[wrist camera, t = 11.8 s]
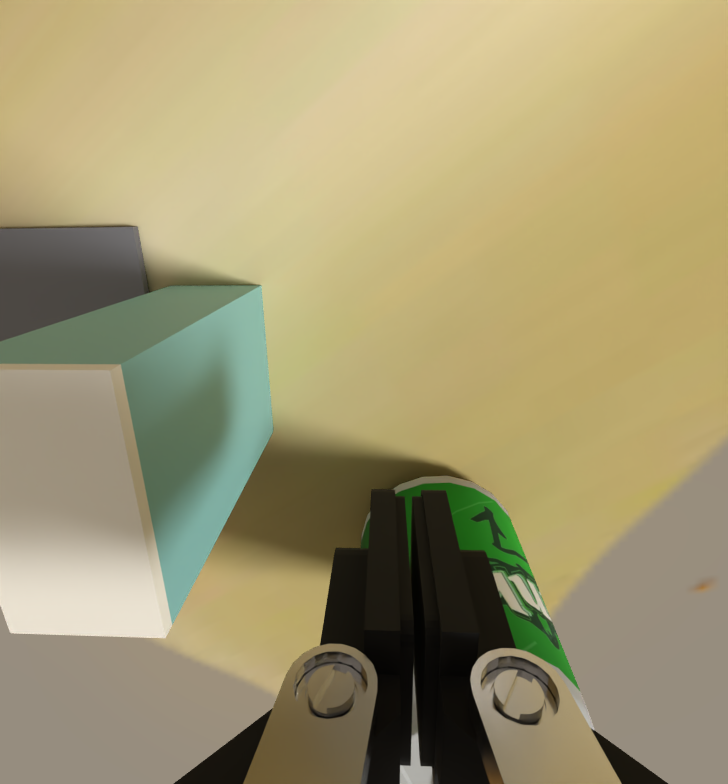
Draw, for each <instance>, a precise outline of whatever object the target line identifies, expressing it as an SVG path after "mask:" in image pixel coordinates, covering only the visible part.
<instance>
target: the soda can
mask: <svg viewBox="0 0 728 784" xmlns="http://www.w3.org/2000/svg"><path fill="white" fill-rule="evenodd" d="M392 490H395V496H405V507H406V521H407V534H408V548H409V562H410V555H411V512H412V496H421V490H446V492H447V497H448V501H449V505H450V509H451V514H452V518H453V522H454V527H455V531H456V535H457V539H458V544H459V548H460V550H484V551H485V552H486V554H487V556H488V559H489V563H490V566H491V569H492V572H493V575H494V579H495V582H496V585H497V588H498V591H499V595H500V598H501V601H502V604H503V607H504V611H505V614H506V617H507V620H508V623H509V627H510V630H511V633H512V636H513V639H514V643H515V646H516V649H518V650H522V651H526V652H529V653H531V654H533V655H535V656H537V657H539V658H541V659H542V660H544V661H545V662H546V663H548V664H549V665H550V666H551V667H552V668H553V669H555V670H556V671H557V673H558V674H559V676H560V677H561V678H562V680H563V681H564V682H565V684H566V686H567V687H568V689H569V691H570V693H571V694H572V696H573V698H574V700H575V702H576V703H577V705H578V707H579V709H580V710H581V712H582V714H583V716H584V718H585V719H586V721H587V723H588V725H589V726H590V728H592V729H593V730H594V727H593V724H592V721H591V718H590V715H589V712H588V710H587V707H586V704H585V702H584V699H583V697H582V695H581V692H580V690H579V687H578V685H577V682H576V680H575V677H574V675H573V672H572V670H571V667H570V665H569V663H568V660H567V658H566V656H565V653H564V650H563V648H562V645H561V643H560V640H559V638H558V635H557V633H556V631H555V628H554V626H553V623H552V621H551V618H550V616H549V613H548V611H547V608H546V606H545V604H544V601H543V599H542V596H541V594H540V591H539V589H538V586H537V584H536V581H535V579H534V576H533V574H532V572H531V569H530V567H529V564H528V562H527V559H526V557H525V554H524V552H523V549H522V547H521V544H520V542H519V540H518V537H517V535H516V532H515V530H514V527H513V525H512V522H511V520H510V517H509V515H508V512H507V510H506V509H505V508H504V507H503V506H502V505H501V503H500V502H499V501H498V500H497V499H496V498H495V497H494V495H493V494H492V493H490V492H489V491H487V490H485V489H484V488H482V487H480V486H479V485H477V484H475V483H473V482H472V481H468V480H463V479H459V478H455V477H451V476H429V477H421V478H417V479H414V480H411V481H408V482H405V483H402V484H399V485H398V486H396V487H395V488H394V489H392ZM369 527H370V512H369V514H368V515H367V519H366V522H365V525H364V529H363V532H362V537H361V548H368V546H369ZM594 731H595V730H594ZM400 784H433V775H432V767H429V766H421V765H420V756H419V741H418V725H417V710H416V695H415V679H414V667H413V703H412V738H411V766H402V765H400Z"/></svg>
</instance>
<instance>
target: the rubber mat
mask: <svg viewBox="0 0 728 784" xmlns="http://www.w3.org/2000/svg"><path fill="white" fill-rule="evenodd" d="M147 293H149V290H148V284H147V278H146V272H145V266H144V261H143V255H142V249H141V243H140V237H139V232H138V227H84V228H13V229H0V341H3V340H6V339H9V338H13V337H16V336H19V335H22V334H25V333H28V332H31V331H34V330H37V329H40V328H43V327H46V326H49V325H52V324H55V323H58V322H61V321H64V320H67V319H71V318H74V317H77V316H80V315H83V314H86V313H89V312H92V311H95V310H98V309H101V308H104V307H107V306H110V305H113V304H116V303H119V302H122V301H125V300H129V299H132V298H135V297H138V296H141V295H144V294H147Z"/></svg>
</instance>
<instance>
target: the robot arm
mask: <svg viewBox="0 0 728 784" xmlns="http://www.w3.org/2000/svg"><path fill="white" fill-rule="evenodd" d="M413 667H414V679H415V695H416V710H417V725H418V741H419V756H420V765H421V766H429V767H432V775H433V784H668V783H667V782H665V781H664V780H662V779H661V778H660V777H658V776H657V775H655V774H654V773H653V772H651V771H650V770H648V769H647V768H646V767H644V766H643V765H641V764H640V763H639V762H637V761H636V760H635V759H633V758H632V757H630V756H629V755H627V754H626V753H625V752H623V751H622V750H621V749H619V748H618V747H616V746H615V745H614V744H612V743H611V742H610V741H608V740H607V739H605V738H604V737H603V736H601V735H600V734H598V733H597V732H596V731H594V730H593V729H592V728H590V726H589V725H588V723H587V721H586V719H585V718H584V716H583V714H582V712H581V710H580V709H579V707H578V705H577V703H576V702H575V700H574V698H573V696H572V694H571V693H570V691H569V689H568V687H567V686H566V684H565V682H564V681H563V680H562V678H561V677H560V676H559V674H558V673H557V671H556V670H555V669H553V668H552V667H551V666H550V665H549V664H548V663H546V662H545V661H544V660H542V659H541V658H539V657H537V656H535V655H533V654H531V653H529V652H526V651H522V650H518V649H516V646H515V643H514V639H513V636H512V633H511V630H510V627H509V623H508V620H507V617H506V614H505V611H504V607H503V604H502V601H501V598H500V595H499V591H498V588H497V585H496V582H495V579H494V575H493V572H492V569H491V566H490V563H489V559H488V556H487V554H486V552H485V551H484V550H460V548H459V544H458V539H457V535H456V531H455V527H454V522H453V518H452V514H451V509H450V505H449V501H448V497H447V492H446V490H421V496H412V512H411V555H410V562H409V548H408V534H407V521H406V507H405V496H395V490H382V489H372V490H371V508H370V527H369V546H368V548H336V549H335V554H334V560H333V567H332V573H331V579H330V586H329V592H328V598H327V605H326V611H325V618H324V624H323V630H322V637H321V643H320V646H317V647H314V648H312V649H310V650H309V651H307V652H305V653H303V654H302V655H301V656H300V657H299V658H298V659H297V660H296V661H294V662H293V664H292V665H291V667H290V669H289V670H288V672H287V674H286V676H285V679H284V681H283V684H282V686H281V689H280V691H279V694H278V696H277V699H276V701H275V704H274V707H273V708H272V709H271V710H270V711H268V712H267V713H266V714H265V715H263V716H262V717H261V718H259V719H258V720H257V721H255V722H254V723H253V724H251V725H250V726H249V727H247V728H246V729H245V730H244V731H242V732H241V733H240V734H238V735H237V736H236V737H234V738H233V739H232V740H230V741H229V742H228V743H227V744H225V745H224V746H223V747H221V748H220V749H219V750H217V751H216V752H215V753H213V754H212V755H211V756H209V757H208V758H207V759H205V760H204V761H203V762H202V763H200V764H199V765H198V766H196V767H195V768H194V769H192V770H191V771H190V772H188V773H187V774H186V775H185V776H183V777H182V778H181V779H179V780H178V781H177V782H175V783H174V784H400V765H402V766H411V738H412V703H413Z"/></svg>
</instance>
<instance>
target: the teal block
mask: <svg viewBox="0 0 728 784" xmlns="http://www.w3.org/2000/svg"><path fill="white" fill-rule="evenodd" d="M272 433H273V420H272V408H271V396H270V384H269V372H268V360H267V348H266V336H265V325H264V313H263V301H262V289H261V285H206V286H168V287H165V288H162V289H159V290H156V291H153V292H150V293H147V294H144V295H141V296H138V297H135V298H132V299H129V300H125V301H122V302H119V303H116V304H113V305H110V306H107V307H104V308H101V309H98V310H95V311H92V312H89V313H86V314H83V315H80V316H77V317H74V318H71V319H67V320H64V321H61V322H58V323H55V324H52V325H49V326H46V327H43V328H40V329H37V330H34V331H31V332H28V333H25V334H22V335H19V336H16V337H13V338H9V339H6V340H3V341H0V606H1V608H2V611H3V614H4V617H5V620H6V622H7V625H8V628H9V631H10V633H22V634H23V633H24V634H54V635H84V636H85V635H87V636H116V637H147V638H166V636H167V634H168V632H169V630H170V628H171V626H172V625H173V623H174V621H175V619H176V617H177V615H178V613H179V611H180V609H181V607H182V605H183V603H184V602H185V600H186V598H187V596H188V594H189V592H190V590H191V588H192V586H193V584H194V582H195V580H196V579H197V577H198V575H199V573H200V571H201V569H202V567H203V565H204V563H205V561H206V559H207V558H208V556H209V554H210V552H211V550H212V548H213V546H214V544H215V542H216V540H217V538H218V536H219V535H220V533H221V531H222V529H223V527H224V525H225V523H226V521H227V519H228V517H229V515H230V514H231V512H232V510H233V508H234V506H235V504H236V502H237V500H238V498H239V496H240V494H241V492H242V491H243V489H244V487H245V485H246V483H247V481H248V479H249V477H250V475H251V473H252V471H253V470H254V468H255V466H256V464H257V462H258V460H259V458H260V456H261V454H262V452H263V450H264V448H265V447H266V445H267V443H268V441H269V439H270V437H271V435H272Z"/></svg>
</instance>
